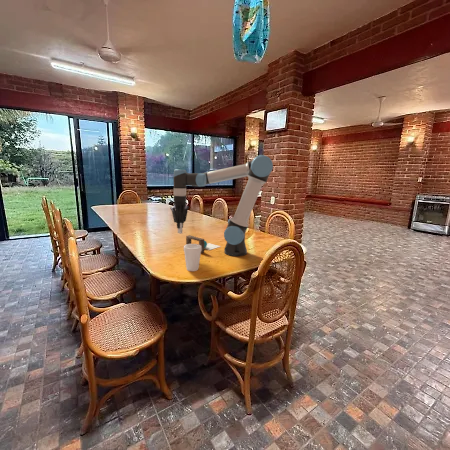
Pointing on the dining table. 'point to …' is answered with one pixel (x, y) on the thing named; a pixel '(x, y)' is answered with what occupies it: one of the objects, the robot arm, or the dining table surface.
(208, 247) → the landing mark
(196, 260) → the foam cup
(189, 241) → the bridge
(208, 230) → the dining table surface
